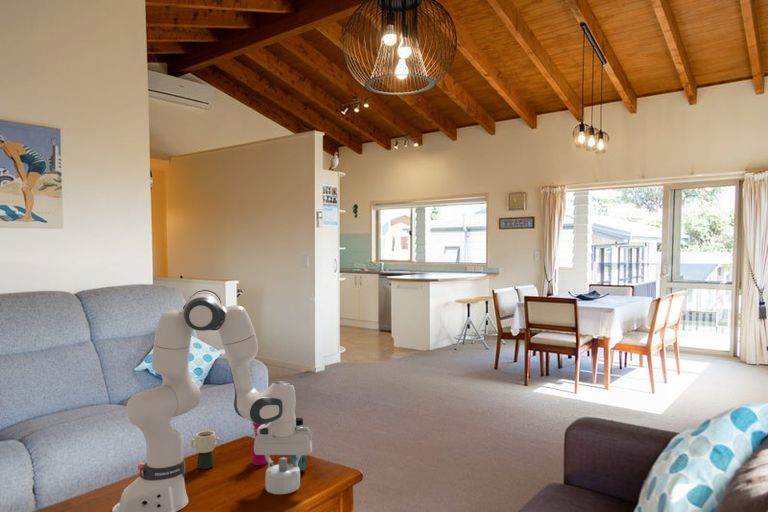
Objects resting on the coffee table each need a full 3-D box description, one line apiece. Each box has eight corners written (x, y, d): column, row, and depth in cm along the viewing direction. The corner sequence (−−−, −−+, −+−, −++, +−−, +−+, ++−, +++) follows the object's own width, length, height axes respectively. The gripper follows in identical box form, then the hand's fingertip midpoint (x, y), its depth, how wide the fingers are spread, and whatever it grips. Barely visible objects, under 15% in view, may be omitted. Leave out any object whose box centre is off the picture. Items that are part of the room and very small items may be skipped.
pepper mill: (250, 459, 207) (250, 409, 207) (268, 457, 209) (268, 408, 210) (251, 466, 200) (251, 414, 201) (270, 464, 203) (270, 413, 203)
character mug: (221, 462, 204) (221, 429, 204) (218, 470, 197) (218, 435, 197) (192, 464, 202) (192, 431, 202) (188, 472, 195) (188, 437, 195)
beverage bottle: (303, 475, 192) (303, 421, 192) (286, 474, 193) (286, 420, 193) (309, 468, 198) (309, 416, 198) (292, 467, 200) (292, 415, 200)
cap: (271, 496, 175) (271, 467, 175) (262, 483, 185) (262, 456, 185) (304, 489, 180) (304, 461, 180) (293, 477, 190) (293, 450, 191)
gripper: (314, 424, 185) (314, 463, 185) (257, 424, 186) (257, 463, 186) (310, 430, 179) (311, 470, 179) (252, 430, 180) (252, 470, 180)
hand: (283, 466), depth 182 cm, fingers open, 7 cm apart
